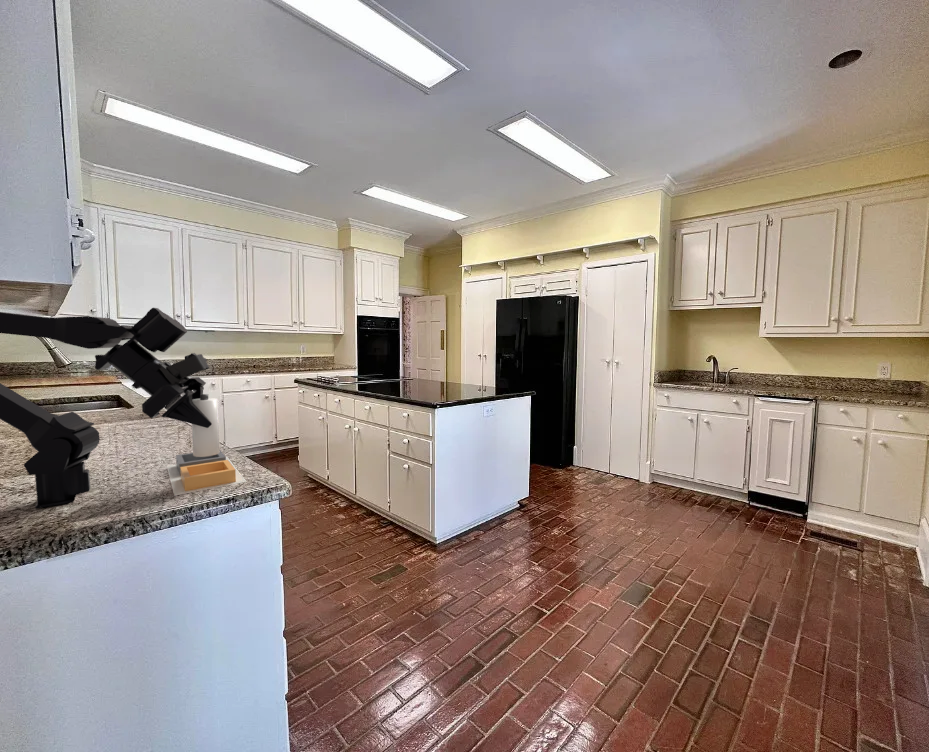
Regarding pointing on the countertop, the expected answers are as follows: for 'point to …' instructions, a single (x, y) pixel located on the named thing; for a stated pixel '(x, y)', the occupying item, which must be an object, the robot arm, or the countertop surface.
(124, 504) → the countertop surface
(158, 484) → the countertop surface
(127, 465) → the countertop surface
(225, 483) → the dock
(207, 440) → the white bottle
